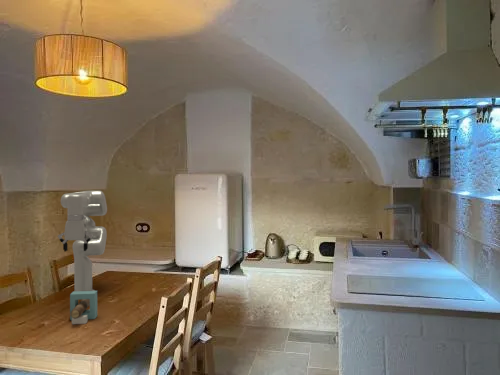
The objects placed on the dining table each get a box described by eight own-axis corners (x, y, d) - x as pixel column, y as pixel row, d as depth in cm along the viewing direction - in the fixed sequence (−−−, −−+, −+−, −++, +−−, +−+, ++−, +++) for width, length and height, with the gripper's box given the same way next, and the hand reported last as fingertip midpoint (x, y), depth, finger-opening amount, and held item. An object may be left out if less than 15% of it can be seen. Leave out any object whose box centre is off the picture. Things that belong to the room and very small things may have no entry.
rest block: (73, 322, 184) (73, 315, 184) (87, 321, 185) (87, 314, 185) (71, 324, 181) (71, 317, 181) (85, 323, 182) (85, 317, 182)
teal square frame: (73, 316, 191) (73, 291, 191) (97, 315, 193) (97, 290, 193) (70, 320, 186) (70, 294, 186) (94, 319, 188) (94, 293, 188)
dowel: (84, 306, 199) (81, 298, 199) (93, 303, 200) (90, 295, 200) (71, 321, 177) (67, 312, 177) (80, 317, 178) (77, 308, 178)
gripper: (94, 217, 215) (94, 249, 215) (60, 217, 212) (60, 250, 212) (90, 218, 207) (90, 251, 207) (55, 219, 205) (55, 252, 205)
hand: (75, 250), depth 210 cm, fingers open, 9 cm apart
